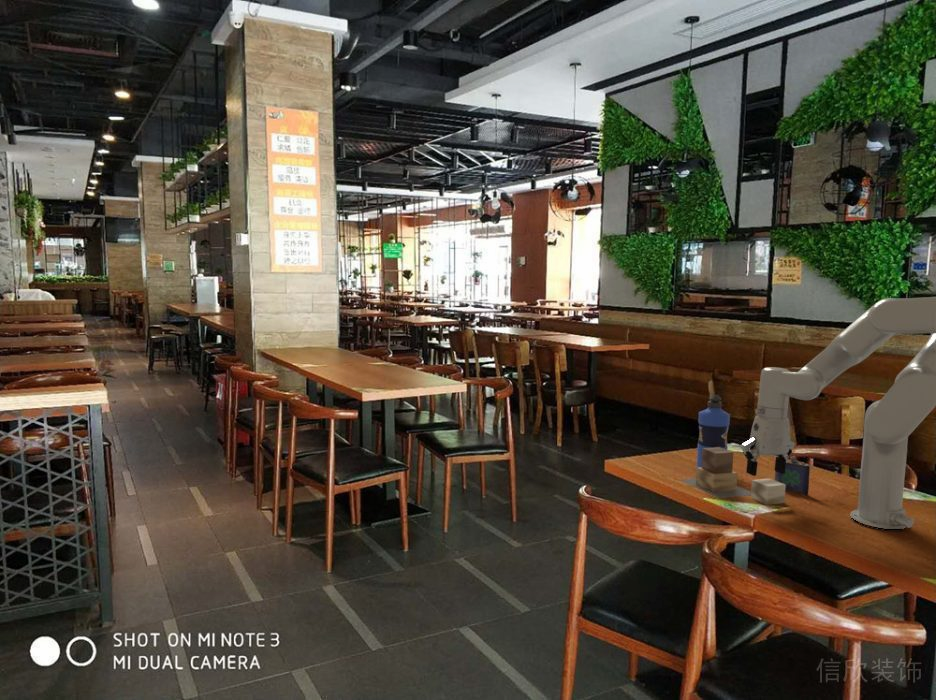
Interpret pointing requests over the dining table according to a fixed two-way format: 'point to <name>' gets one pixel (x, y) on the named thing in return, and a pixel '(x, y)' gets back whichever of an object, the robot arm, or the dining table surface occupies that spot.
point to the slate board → (721, 494)
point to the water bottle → (712, 427)
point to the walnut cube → (717, 460)
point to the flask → (795, 476)
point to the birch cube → (768, 491)
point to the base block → (716, 480)
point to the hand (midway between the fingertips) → (765, 473)
